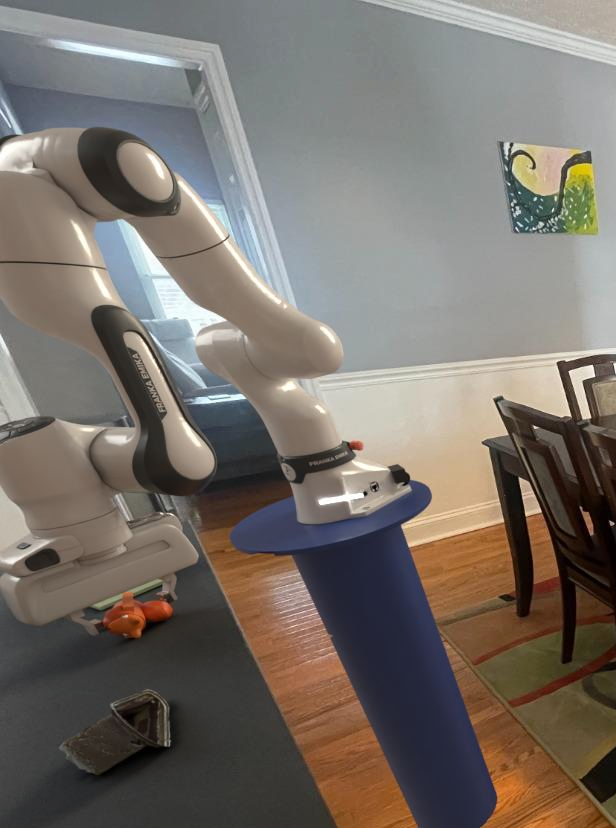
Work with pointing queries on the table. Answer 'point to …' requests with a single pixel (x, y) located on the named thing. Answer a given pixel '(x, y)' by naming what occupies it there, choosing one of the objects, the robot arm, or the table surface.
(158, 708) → the brown hollow wedge shell
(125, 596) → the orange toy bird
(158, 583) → the place mat
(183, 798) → the table surface
